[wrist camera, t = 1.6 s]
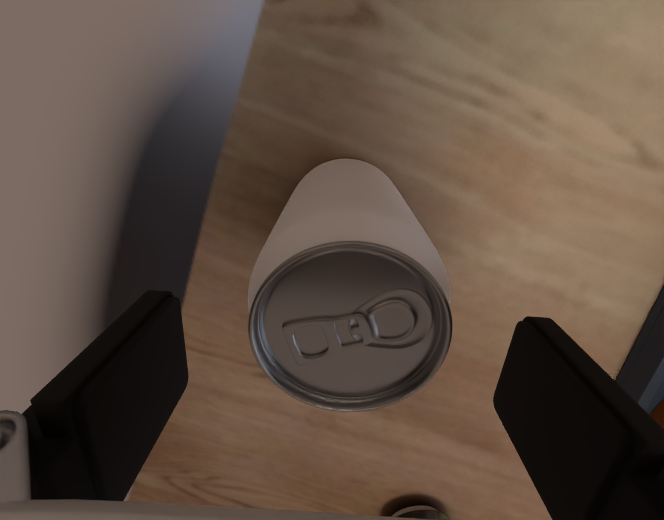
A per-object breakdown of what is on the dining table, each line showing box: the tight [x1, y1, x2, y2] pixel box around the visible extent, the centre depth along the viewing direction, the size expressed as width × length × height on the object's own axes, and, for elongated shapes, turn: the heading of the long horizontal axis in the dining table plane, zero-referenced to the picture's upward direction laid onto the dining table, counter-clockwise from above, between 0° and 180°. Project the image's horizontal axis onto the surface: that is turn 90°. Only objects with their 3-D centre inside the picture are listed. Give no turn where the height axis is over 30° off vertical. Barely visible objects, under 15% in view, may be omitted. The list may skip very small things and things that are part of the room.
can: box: [248, 159, 452, 412], centre depth 15 cm, size 6×6×12 cm
